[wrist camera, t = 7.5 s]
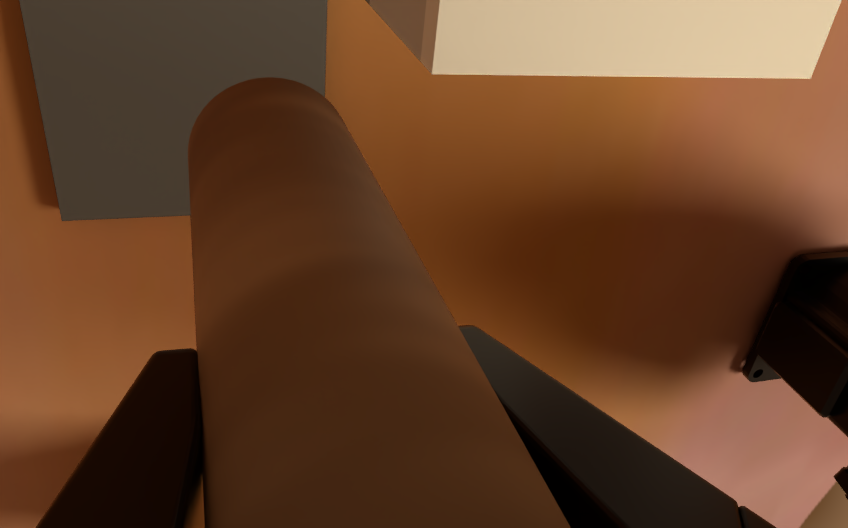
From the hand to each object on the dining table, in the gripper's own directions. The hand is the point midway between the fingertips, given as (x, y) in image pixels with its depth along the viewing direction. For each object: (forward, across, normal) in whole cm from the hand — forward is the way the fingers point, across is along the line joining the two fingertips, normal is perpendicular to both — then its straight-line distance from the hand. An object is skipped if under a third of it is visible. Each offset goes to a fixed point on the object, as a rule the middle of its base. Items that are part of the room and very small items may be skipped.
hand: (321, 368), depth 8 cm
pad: (+13, +1, +2) cm, 13 cm away
